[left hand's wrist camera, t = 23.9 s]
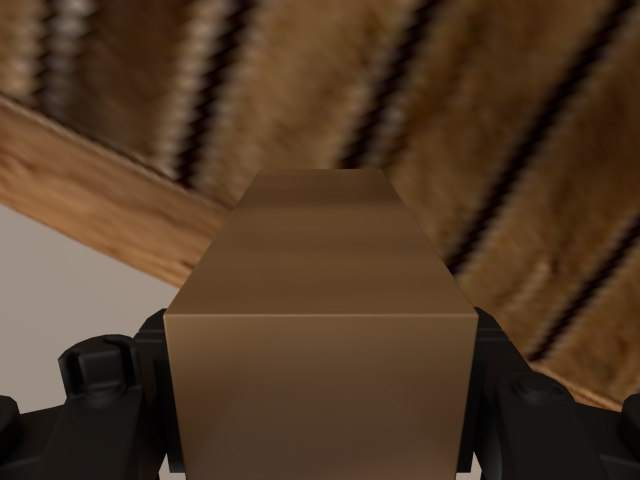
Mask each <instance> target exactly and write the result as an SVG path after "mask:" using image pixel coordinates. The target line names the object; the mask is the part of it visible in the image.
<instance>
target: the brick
mask: <svg viewBox="0 0 640 480" xmlns="http://www.w3.org/2000/svg"><path fill="white" fill-rule="evenodd" d="M478 318H479V316H478V313H477V312H476V310H475V309H474V307H473V306H472V304H471V303H470V301H469V300H468V298H467V297H466V295H465V294H464V292H463V291H462V289H461V288H460V286H459V285H458V283H457V282H456V280H455V279H454V278H453V276H452V275H451V273H450V272H449V270H448V269H447V267H446V266H445V264H444V263H443V261H442V260H441V258H440V257H439V255H438V254H437V252H436V251H435V249H434V248H433V246H432V245H431V243H430V242H429V240H428V239H427V237H426V236H425V234H424V233H423V231H422V230H421V228H420V227H419V225H418V224H417V222H416V221H415V219H414V218H413V216H412V215H411V213H410V212H409V210H408V209H407V207H406V206H405V205H404V203H403V202H402V200H401V199H400V197H399V196H398V194H397V193H396V191H395V190H394V188H393V187H392V185H391V184H390V182H389V181H388V179H387V178H386V176H385V175H384V173H383V172H382V170H381V169H261V170H260V171H259V172H258V174H257V175H256V177H255V178H254V180H253V181H252V183H251V184H250V186H249V187H248V189H247V190H246V192H245V193H244V195H243V196H242V198H241V199H240V201H239V202H238V204H237V205H236V207H235V208H234V210H233V211H232V213H231V214H230V216H229V217H228V219H227V220H226V222H225V223H224V225H223V226H222V228H221V229H220V231H219V232H218V234H217V235H216V236H215V238H214V239H213V241H212V242H211V244H210V245H209V247H208V248H207V250H206V251H205V253H204V254H203V256H202V257H201V259H200V260H199V262H198V263H197V265H196V266H195V268H194V269H193V271H192V272H191V274H190V275H189V277H188V278H187V280H186V281H185V283H184V284H183V286H182V287H181V289H180V290H179V292H178V294H177V295H176V296H175V298H174V299H173V301H172V303H171V304H170V305H169V307H168V308H167V310H166V311H165V313H164V315H163V319H164V326H165V333H166V340H167V348H168V355H169V362H170V369H171V376H172V383H173V390H174V397H175V405H176V412H177V419H178V426H179V433H180V440H181V447H182V454H183V461H184V469H185V476H186V480H456V473H457V466H458V459H459V452H460V445H461V438H462V431H463V424H464V417H465V410H466V403H467V396H468V389H469V382H470V375H471V367H472V360H473V353H474V346H475V339H476V332H477V325H478Z"/></svg>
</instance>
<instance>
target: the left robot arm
mask: <svg viewBox="0 0 640 480" xmlns="http://www.w3.org/2000/svg"><path fill="white" fill-rule="evenodd" d="M474 309H475V310H476V312H477V313H478V316H479V318H478V325H477V332H476V339H475V346H474V353H473V360H472V367H471V375H470V382H469V389H468V396H467V403H466V410H465V417H464V424H463V431H462V438H461V445H460V452H459V459H458V466H457V473H470V472H471V466H472V459H473V453H474V452H475V455H476V457H477V460H478V462H479V465H480V467H481V469H482V472H481V478H480V480H640V393H639V394H633V395H630V396H629V397H628V398H627V399H625V400H624V404H623V407H622V410H621V412H616V411H611V410H607V409H602V408H597V407H592V406H588V405H584V404H580V403H577V402H575V400H574V398H573V396H572V395H571V394H570V392H569V391H568V390H567V388H566V387H564V386H563V385H562V384H560V383H559V382H558V381H556V380H555V379H553V378H550V377H548V376H546V375H544V374H541V373H537V372H533V371H532V369H531V368H530V367H529V365H528V364H527V363H526V361H525V360H524V359H523V357H522V356H521V354H520V353H519V352H518V350H517V349H516V348H515V346H514V345H513V343H512V342H511V341H509V338H508V337H507V335H506V334H505V332H504V331H502V328H501V327H500V326H499V324H498V323H497V322H496V320H495V319H494V317H492V316H491V315H489V314H488V313H486V312H485V311H483V310H482V309H480V308H479V307H474ZM166 310H167V309H161V310H160V311H158V312H157V313H155V314H154V315H152V316H150V317H149V318H147V320H146V321H145V322H144V324H143V325H142V327H141V328H140V329H139V333H136V335H135V336H134V338H133V339H132V338H131V337H129V336H125V335H120V334H111V335H102V336H97V337H92V338H89V339H87V340H84V341H82V342H79V343H77V344H75V345H74V346H72V347H70V348H69V349H67V350H66V351H65V352H64V353H63V354H62V355H61V356H60V357H59V358H58V363H59V367H60V371H61V375H62V379H63V383H64V387H65V392H66V396H67V399H66V401H65V403H64V404H63V405H60V406H56V407H52V408H47V409H43V410H38V411H33V412H29V413H24V414H20V412H19V409H18V406H17V402H16V401H14V400H13V399H12V398H11V397H8V396H2V395H0V480H160V478H159V470H160V468H161V465H162V463H163V460H164V458H165V455H166V453H167V457H168V464H169V470H170V473H185V469H184V461H183V454H182V447H181V440H180V433H179V426H178V419H177V412H176V405H175V397H174V390H173V383H172V376H171V369H170V362H169V355H168V348H167V340H166V333H165V326H164V319H163V315H164V313H165V311H166Z"/></svg>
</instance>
